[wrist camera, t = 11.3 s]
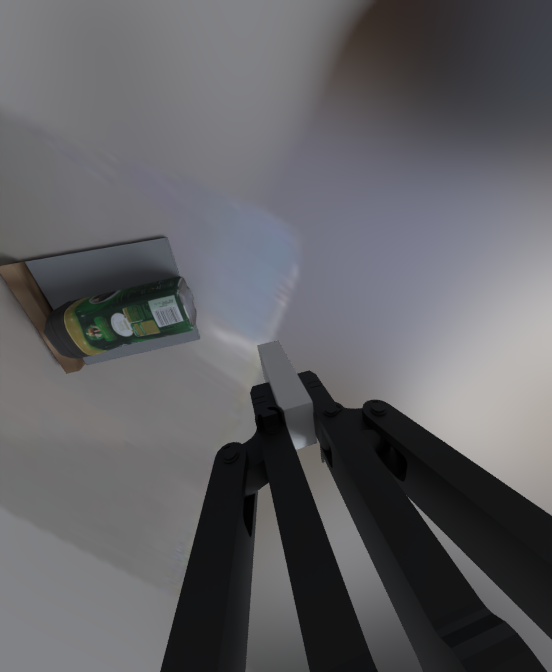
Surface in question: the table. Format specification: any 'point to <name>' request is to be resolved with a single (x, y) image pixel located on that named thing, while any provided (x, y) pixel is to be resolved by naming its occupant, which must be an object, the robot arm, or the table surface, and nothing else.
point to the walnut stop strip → (35, 306)
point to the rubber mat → (109, 282)
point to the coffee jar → (121, 318)
